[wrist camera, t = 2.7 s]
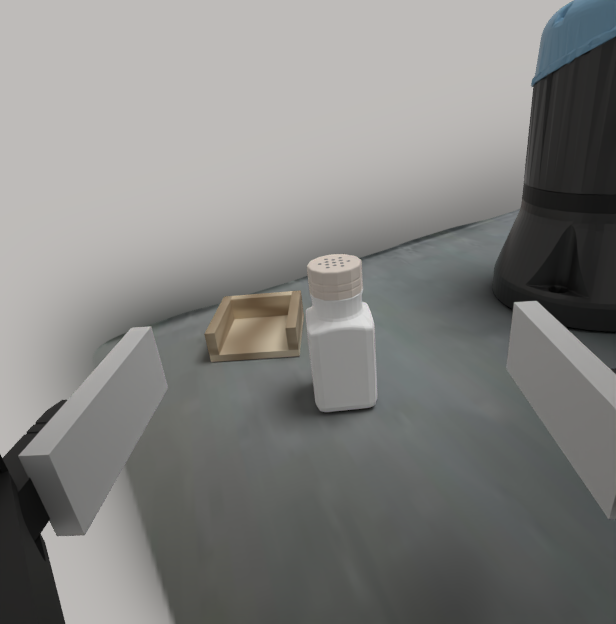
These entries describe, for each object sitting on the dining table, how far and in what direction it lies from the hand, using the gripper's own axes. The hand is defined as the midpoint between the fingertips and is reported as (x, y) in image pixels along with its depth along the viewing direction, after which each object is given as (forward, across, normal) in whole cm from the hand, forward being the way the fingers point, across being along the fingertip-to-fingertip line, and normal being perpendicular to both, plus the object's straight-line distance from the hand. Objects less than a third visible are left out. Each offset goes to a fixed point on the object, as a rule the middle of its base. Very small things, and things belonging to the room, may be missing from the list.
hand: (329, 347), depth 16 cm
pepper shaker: (+10, 0, -10) cm, 15 cm away
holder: (+20, -7, -10) cm, 23 cm away
